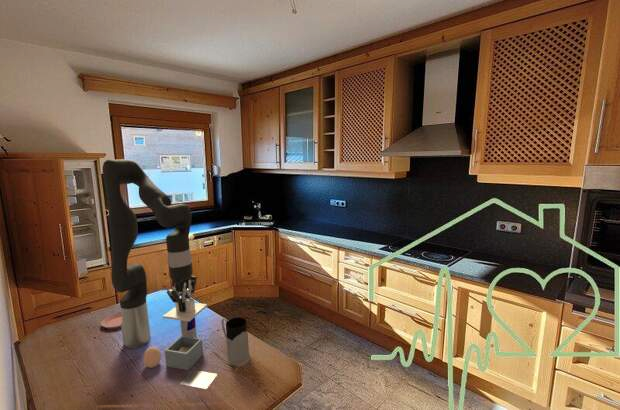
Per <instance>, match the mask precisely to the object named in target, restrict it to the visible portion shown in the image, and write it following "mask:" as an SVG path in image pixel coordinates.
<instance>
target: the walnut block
mask: <svg viewBox="0 0 620 410" xmlns="http://www.w3.org/2000/svg"><path fill="white" fill-rule="evenodd" d="M191 348H192V347H181V348H180V350H179V352H185V353H187V352H188V351H189V350H190V349H191Z"/></svg>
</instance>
